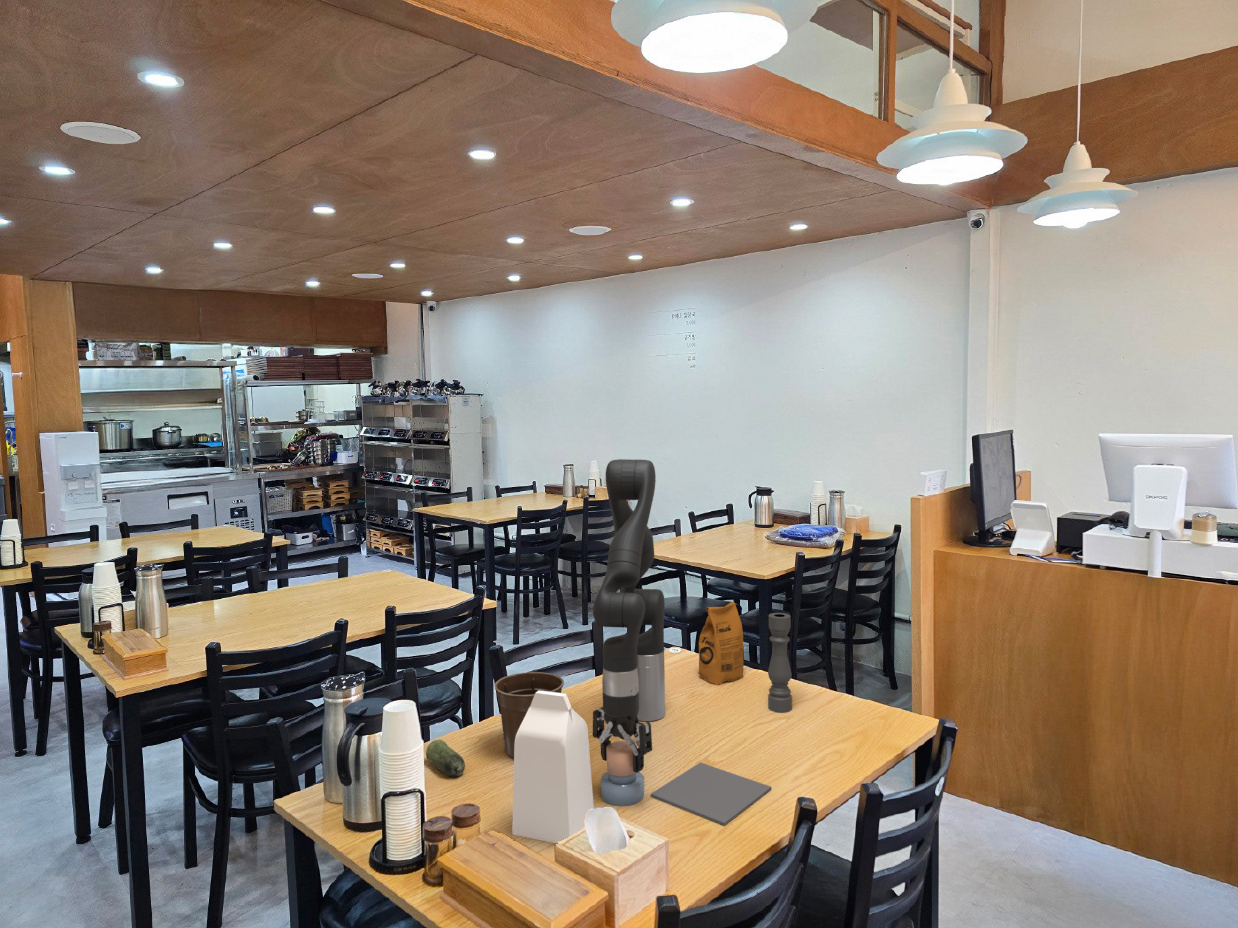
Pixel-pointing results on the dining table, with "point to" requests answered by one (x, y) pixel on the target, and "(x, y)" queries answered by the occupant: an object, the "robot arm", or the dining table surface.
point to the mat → (711, 793)
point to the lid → (619, 759)
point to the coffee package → (721, 645)
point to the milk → (551, 770)
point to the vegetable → (445, 758)
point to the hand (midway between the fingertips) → (622, 765)
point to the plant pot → (521, 700)
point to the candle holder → (779, 664)
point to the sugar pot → (622, 789)
